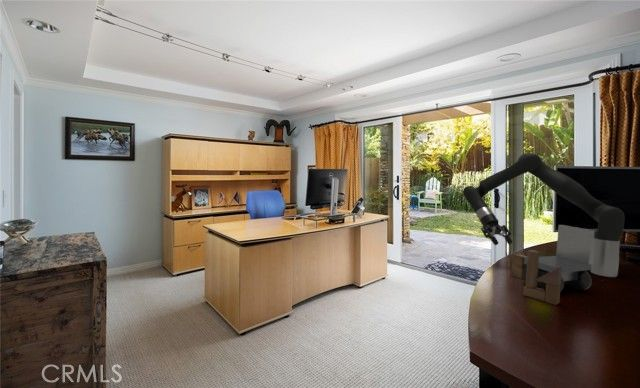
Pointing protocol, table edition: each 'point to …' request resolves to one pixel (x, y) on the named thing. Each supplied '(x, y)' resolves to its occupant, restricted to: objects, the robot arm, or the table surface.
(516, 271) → the block
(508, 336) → the table surface
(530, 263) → the tan wooden frame
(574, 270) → the trolley
